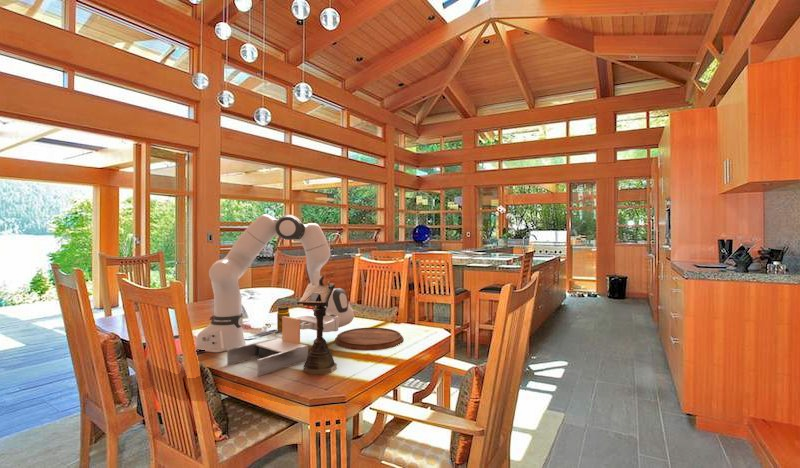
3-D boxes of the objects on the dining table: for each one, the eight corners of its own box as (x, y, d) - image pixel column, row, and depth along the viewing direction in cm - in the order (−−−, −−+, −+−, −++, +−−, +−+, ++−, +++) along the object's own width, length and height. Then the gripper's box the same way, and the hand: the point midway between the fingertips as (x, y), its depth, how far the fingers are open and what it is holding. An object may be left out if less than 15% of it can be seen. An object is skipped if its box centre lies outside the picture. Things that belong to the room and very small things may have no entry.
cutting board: (397, 352, 169) (397, 346, 169) (324, 349, 174) (324, 343, 174) (407, 333, 201) (407, 328, 201) (346, 330, 206) (346, 325, 206)
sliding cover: (278, 339, 171) (278, 314, 171) (306, 347, 160) (306, 320, 160) (255, 345, 162) (255, 319, 162) (283, 353, 151) (283, 325, 151)
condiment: (285, 332, 201) (285, 308, 201) (270, 331, 204) (270, 307, 204) (293, 329, 208) (293, 306, 208) (279, 327, 211) (279, 305, 211)
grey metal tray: (276, 350, 171) (275, 337, 171) (308, 359, 159) (307, 345, 159) (227, 364, 154) (227, 349, 154) (259, 376, 141) (258, 360, 141)
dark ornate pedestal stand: (326, 381, 136) (325, 278, 136) (291, 377, 140) (291, 277, 139) (344, 365, 152) (344, 273, 152) (313, 362, 156) (312, 272, 155)
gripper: (309, 311, 186) (284, 316, 175) (340, 317, 174) (316, 323, 163) (309, 324, 186) (284, 330, 175) (340, 331, 174) (316, 338, 163)
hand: (300, 327), depth 169 cm, fingers closed
